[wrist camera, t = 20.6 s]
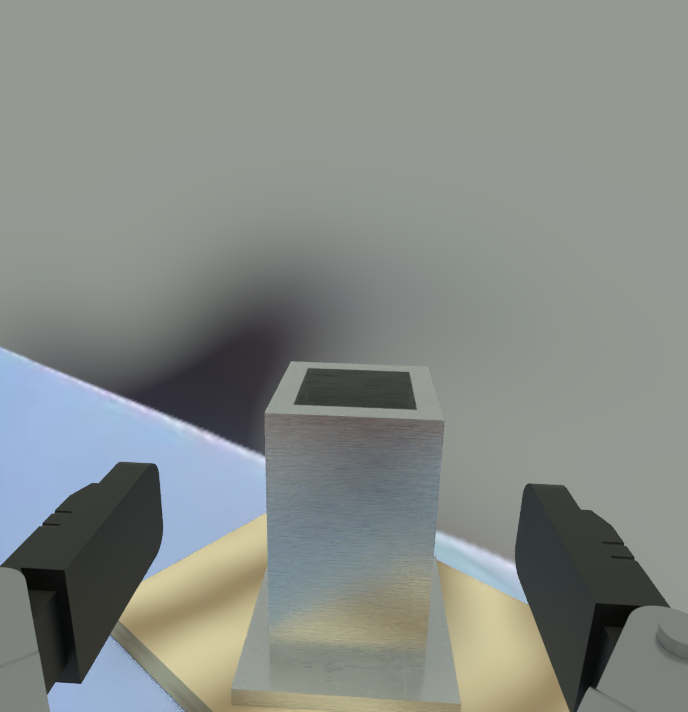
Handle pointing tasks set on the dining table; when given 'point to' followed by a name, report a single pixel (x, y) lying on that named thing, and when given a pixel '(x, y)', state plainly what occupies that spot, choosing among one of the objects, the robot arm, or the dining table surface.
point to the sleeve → (351, 547)
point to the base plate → (235, 609)
